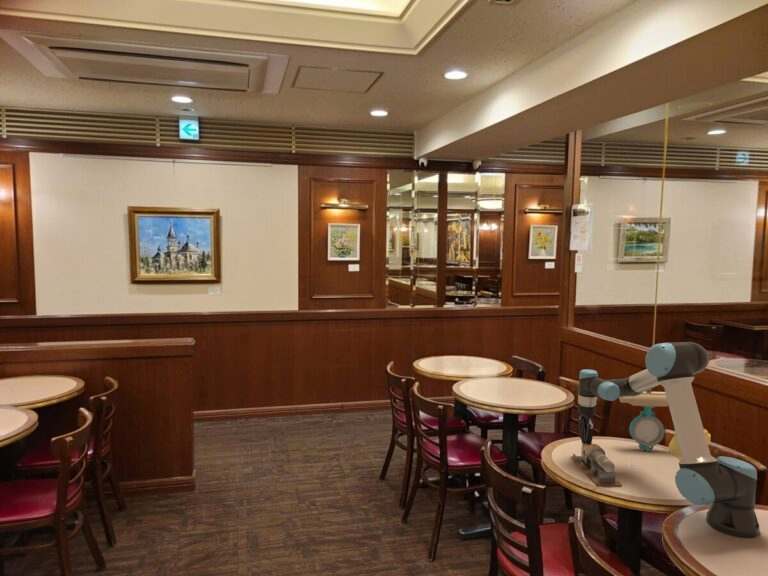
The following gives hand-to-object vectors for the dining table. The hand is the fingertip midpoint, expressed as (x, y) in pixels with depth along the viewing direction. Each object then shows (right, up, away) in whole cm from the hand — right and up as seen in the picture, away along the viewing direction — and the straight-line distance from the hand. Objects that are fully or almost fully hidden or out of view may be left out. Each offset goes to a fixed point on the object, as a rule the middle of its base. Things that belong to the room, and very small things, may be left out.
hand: (584, 456), depth 232 cm
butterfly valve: (+34, -2, +15) cm, 37 cm away
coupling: (0, -1, -6) cm, 7 cm away
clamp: (+49, -3, +4) cm, 50 cm away
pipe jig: (0, -3, -11) cm, 11 cm away
